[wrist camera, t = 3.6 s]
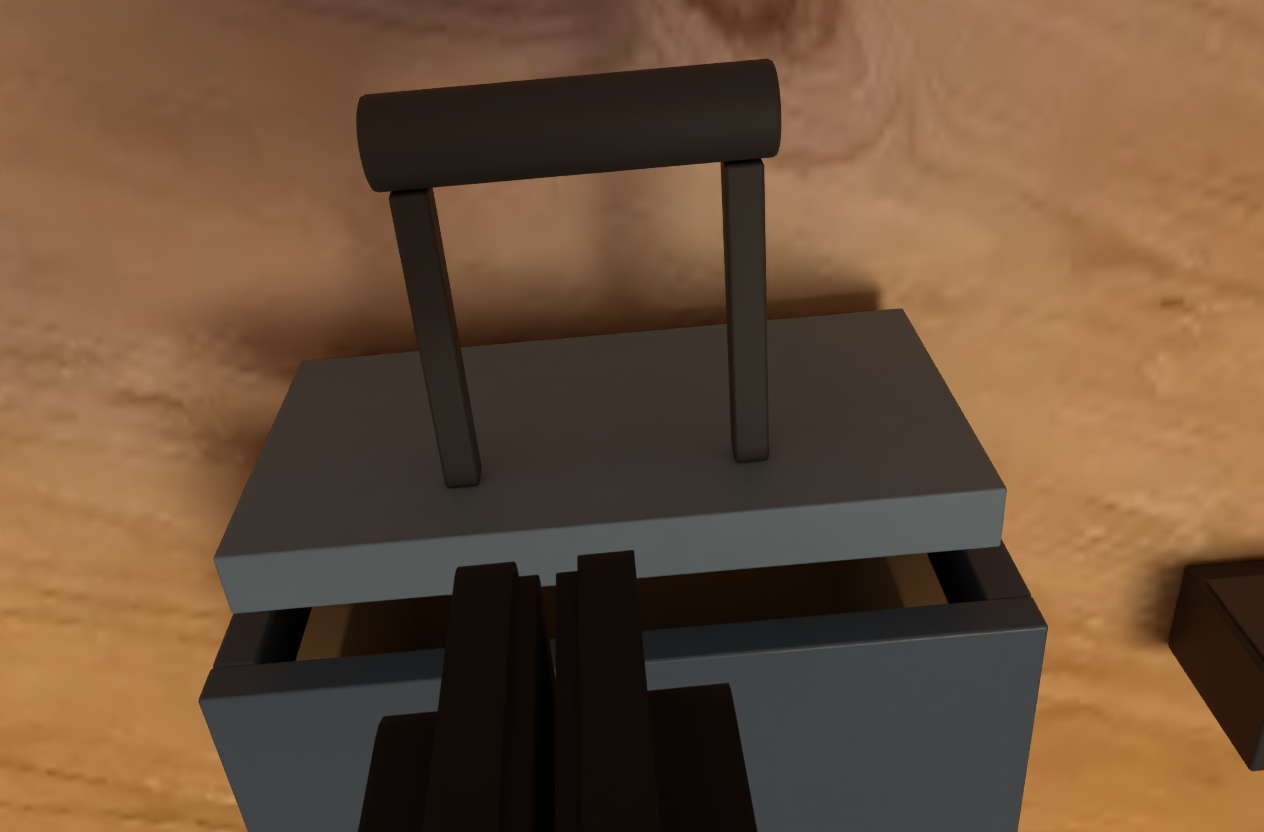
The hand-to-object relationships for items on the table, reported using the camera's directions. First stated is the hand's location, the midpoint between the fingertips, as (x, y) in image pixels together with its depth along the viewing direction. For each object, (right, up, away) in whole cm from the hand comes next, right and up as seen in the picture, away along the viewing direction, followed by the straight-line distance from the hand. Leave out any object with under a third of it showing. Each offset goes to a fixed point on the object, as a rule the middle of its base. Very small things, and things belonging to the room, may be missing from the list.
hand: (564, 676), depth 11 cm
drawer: (0, +2, +15) cm, 15 cm away
